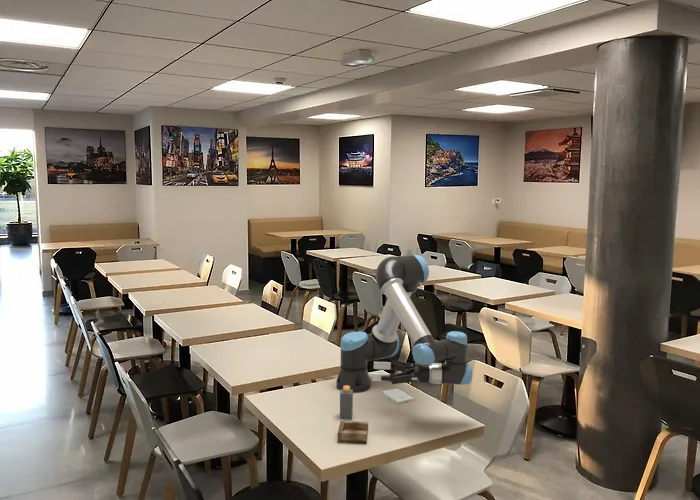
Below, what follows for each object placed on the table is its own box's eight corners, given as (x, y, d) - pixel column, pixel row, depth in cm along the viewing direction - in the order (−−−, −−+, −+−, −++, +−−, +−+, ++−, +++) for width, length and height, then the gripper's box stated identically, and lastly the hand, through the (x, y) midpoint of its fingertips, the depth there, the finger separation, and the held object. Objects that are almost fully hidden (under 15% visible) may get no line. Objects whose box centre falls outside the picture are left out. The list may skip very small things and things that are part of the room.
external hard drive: (397, 391, 245) (414, 401, 234) (381, 394, 241) (398, 405, 230) (397, 388, 245) (414, 397, 234) (381, 391, 241) (398, 401, 230)
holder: (368, 431, 205) (368, 422, 205) (366, 443, 195) (366, 434, 195) (340, 429, 206) (340, 420, 205) (337, 442, 196) (337, 432, 196)
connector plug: (352, 414, 219) (353, 384, 218) (351, 419, 215) (352, 388, 213) (341, 414, 220) (341, 384, 218) (339, 418, 215) (340, 388, 214)
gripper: (431, 394, 200) (371, 392, 202) (427, 371, 225) (374, 369, 227) (431, 374, 199) (371, 372, 201) (428, 353, 224) (374, 351, 226)
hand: (372, 371), depth 214 cm, fingers open, 13 cm apart
